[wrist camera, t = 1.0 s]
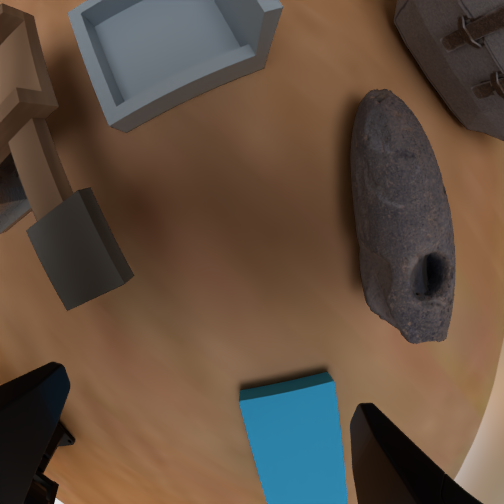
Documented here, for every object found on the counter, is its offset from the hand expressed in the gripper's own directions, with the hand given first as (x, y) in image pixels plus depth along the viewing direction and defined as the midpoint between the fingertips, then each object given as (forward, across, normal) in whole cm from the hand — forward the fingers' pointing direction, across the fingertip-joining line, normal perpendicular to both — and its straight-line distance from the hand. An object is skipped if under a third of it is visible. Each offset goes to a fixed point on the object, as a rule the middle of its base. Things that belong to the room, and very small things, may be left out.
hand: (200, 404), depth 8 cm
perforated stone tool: (+14, -9, -4) cm, 17 cm away
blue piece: (+12, -6, +18) cm, 23 cm away
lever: (+6, +15, -4) cm, 17 cm away
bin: (+13, +6, -14) cm, 20 cm away
